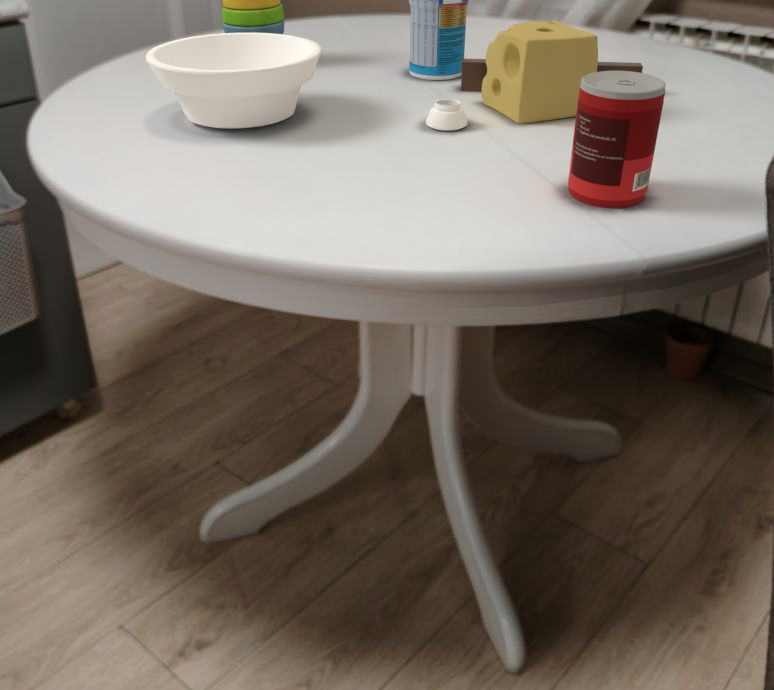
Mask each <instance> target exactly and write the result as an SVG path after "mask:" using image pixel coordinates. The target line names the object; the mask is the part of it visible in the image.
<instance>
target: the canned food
mask: <svg viewBox="0 0 774 690" xmlns="http://www.w3.org/2000/svg"><path fill="white" fill-rule="evenodd" d="M665 94H666V82H665V81H664V80H663V79H662V78H660V77H657V76H655V75H652V74H648V73H643V72H642V73H639V72H631V71H601V72H595V73H591V74H588V75H586V76H584V77H583V78H582V80H581V84H580V90H579V97H578V104H577V113H576V116H575V122H574V128H573V129H574V131H573V140H572V147H571V155H570V164H569V173H568V181H567V184H568V190H569V194H570V195H571V197H573V198H574V199H575V200H577V201H579V202H581V203H583V204H585V205H589V206H593V207H597V208H608V209H617V208H618V209H619V208H621V209H622V208H628V207H631V206H636V205H638V204H640V202H642V201H643V199H644V198H645V195H646V193H647V192H648V188H649V183H650V177H651V171H652V168H653V162H654V157H655V150H656V146H657V139H658V133H659V129H660V123H661V119H662V118H661V117H662V114H663V113H662V112H663V107H664V100H665Z"/></svg>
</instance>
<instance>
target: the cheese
mask: <svg viewBox="0 0 774 690" xmlns="http://www.w3.org/2000/svg"><path fill="white" fill-rule="evenodd" d="M598 43H599V41H598V35H596V34H594V33H592V32H589V31H587V30H586V31H585V30H583V29H579V28H575V27H572V26H569V25H566V24H565V23H561V22H560V21H557V20H542V21H541V20H540V21H539V20H535V21H524V22H519V23H514V24H512V25H510V26H509V27H508V29H506V30H503V31H500V32H498V33H497V35H496V37H495V39H494V41H493V42H489V44H488V46H487V49H486V53H485V59H486V65H487V74H486V76H485V77H484V79H483V83H482V92H481V99H482V103H483V105H485V106H487V107H488V108H492V109H493V110H495V111H497V112H499V113H500V114H502V115H503V116H506V118H508V119H510V120H511V121H513V122H514V123H516V124H518V125H523V124H532V123H539V122H544V121H552V120H553V121H554V120H559V119H560V120H561V119H566V118H572V117H576V113H577V104H578V97H579V90H580V84H581V80H582V78H583V77H584V76H586V75H588V74H591V73H595V72H597V65H598V62H599V46H598V45H599V44H598Z"/></svg>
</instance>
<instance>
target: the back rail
mask: <svg viewBox="0 0 774 690" xmlns="http://www.w3.org/2000/svg"><path fill="white" fill-rule="evenodd" d="M643 68H644V65H643V64H642V63H641V62H621V61H620V62H619V61H598V65H597V72H601V71H631V72H639V73H643ZM486 74H487V65H486V58H464V59H463V60H462V73H461V76H460V79H461V80H460V92H475V93H477V92H478V93H480V92H481V93H482V83H483V79H484V77H485V76H486Z"/></svg>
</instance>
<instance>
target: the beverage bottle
mask: <svg viewBox="0 0 774 690" xmlns="http://www.w3.org/2000/svg"><path fill="white" fill-rule="evenodd" d="M469 2H470V1H469V0H408V4H409V5H408V6H409V7H410V15H409V16H410V17H409V20H410V23H409V24H410V25H409V30H410V31H409V32H410V33H409V37H410V38H409V61H408V71H409V74H410V75H411V76H412V77H414V78H416V79H420V80H425V81H449V80H454V79H458V78H461V73H462V60H463V59H465V47H466V46H465V45H466V29H467V27H466V26H467V14H468V13H467V11H468V5H469Z"/></svg>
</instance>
